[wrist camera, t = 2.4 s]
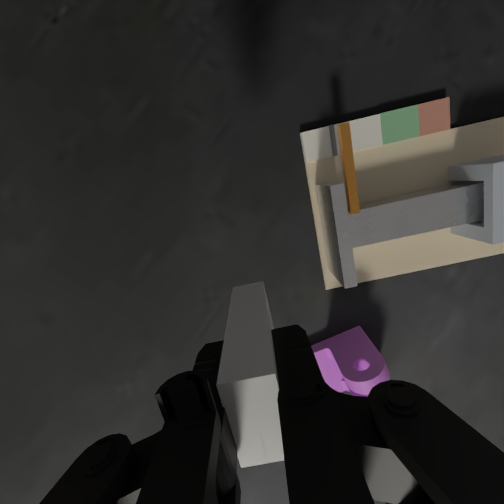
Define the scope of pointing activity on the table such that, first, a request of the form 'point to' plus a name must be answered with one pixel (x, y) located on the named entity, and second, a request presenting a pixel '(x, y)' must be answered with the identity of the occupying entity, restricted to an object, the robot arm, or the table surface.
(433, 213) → the grey sliding clamp
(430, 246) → the beige mechanism board
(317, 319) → the table surface
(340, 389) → the bracket
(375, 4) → the table surface
